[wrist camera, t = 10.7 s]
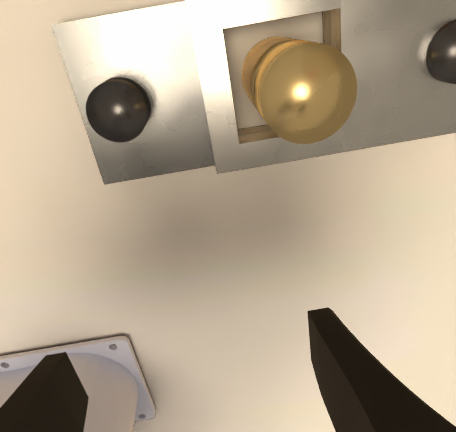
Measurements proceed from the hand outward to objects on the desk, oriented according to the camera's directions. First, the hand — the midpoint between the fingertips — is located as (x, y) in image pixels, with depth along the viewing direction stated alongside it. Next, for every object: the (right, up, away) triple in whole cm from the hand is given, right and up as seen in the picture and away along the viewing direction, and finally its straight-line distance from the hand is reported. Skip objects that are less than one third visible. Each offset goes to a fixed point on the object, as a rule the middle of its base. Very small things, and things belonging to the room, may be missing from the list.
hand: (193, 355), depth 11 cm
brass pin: (+3, +11, +6) cm, 13 cm away
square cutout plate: (+3, +11, +6) cm, 13 cm away
